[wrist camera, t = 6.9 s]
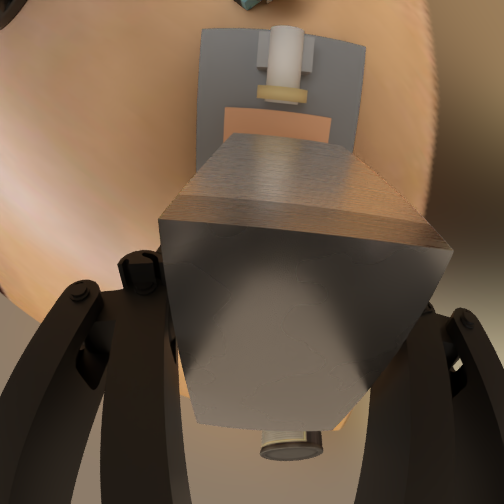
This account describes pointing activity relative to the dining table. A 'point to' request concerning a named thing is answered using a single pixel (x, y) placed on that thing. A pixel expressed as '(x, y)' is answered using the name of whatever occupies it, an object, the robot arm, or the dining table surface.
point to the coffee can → (291, 445)
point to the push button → (249, 3)
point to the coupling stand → (276, 87)
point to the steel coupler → (291, 281)
